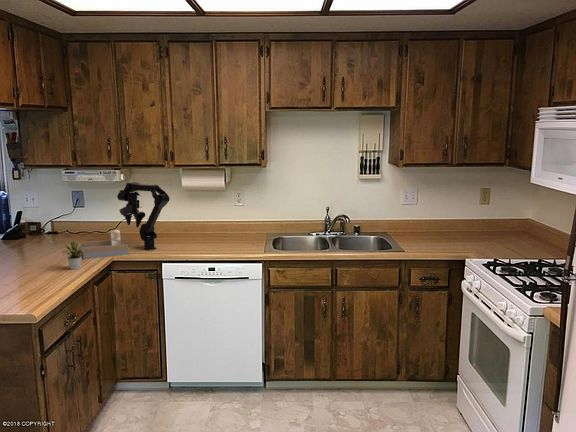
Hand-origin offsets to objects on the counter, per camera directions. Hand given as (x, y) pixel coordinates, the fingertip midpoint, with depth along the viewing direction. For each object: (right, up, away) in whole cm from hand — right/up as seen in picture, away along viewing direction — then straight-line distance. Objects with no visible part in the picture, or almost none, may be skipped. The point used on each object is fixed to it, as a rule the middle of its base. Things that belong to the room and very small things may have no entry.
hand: (133, 226), depth 311 cm
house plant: (-17, -22, -47) cm, 55 cm away
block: (-6, -12, -13) cm, 19 cm away
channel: (-12, -16, -15) cm, 25 cm away
